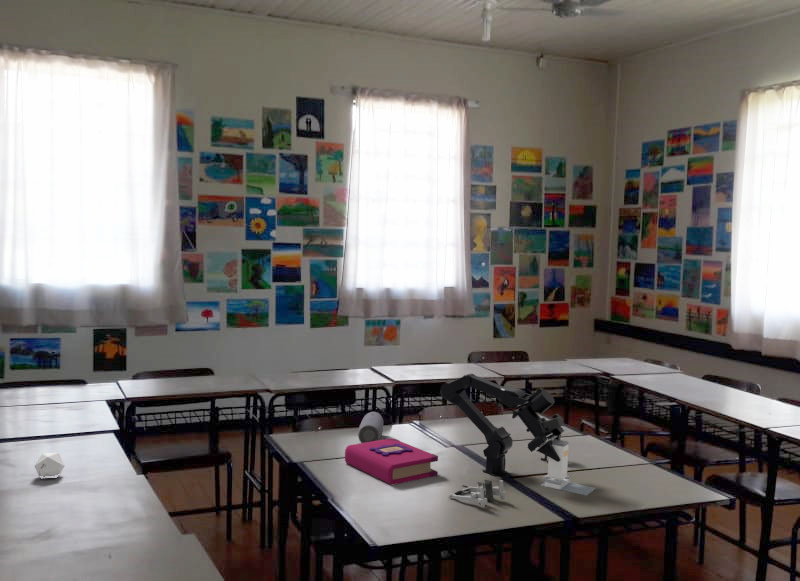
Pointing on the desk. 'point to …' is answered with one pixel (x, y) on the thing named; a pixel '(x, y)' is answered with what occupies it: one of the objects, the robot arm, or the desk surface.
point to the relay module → (559, 468)
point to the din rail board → (566, 485)
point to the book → (391, 460)
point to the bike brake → (481, 493)
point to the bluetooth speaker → (371, 427)
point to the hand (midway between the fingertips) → (562, 459)
